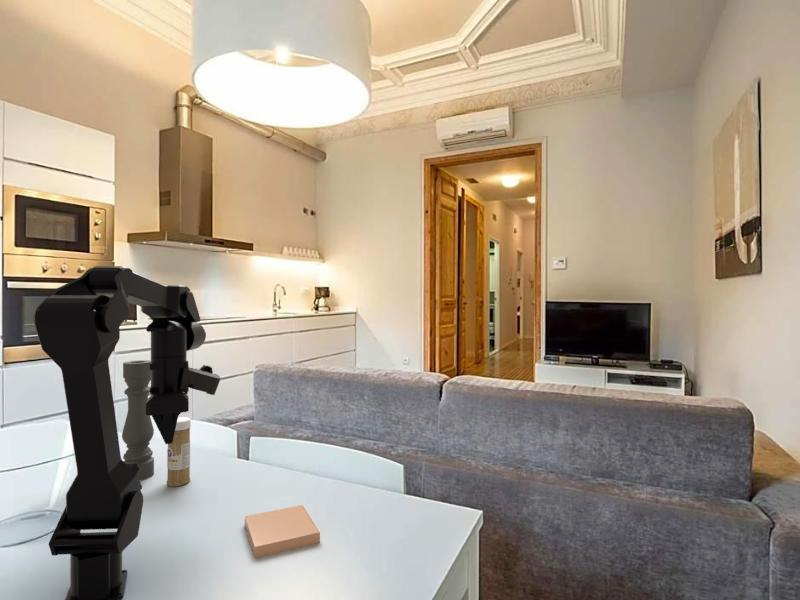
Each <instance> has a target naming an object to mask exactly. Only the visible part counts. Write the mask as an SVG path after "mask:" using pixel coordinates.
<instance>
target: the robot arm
mask: <svg viewBox="0 0 800 600" xmlns="http://www.w3.org/2000/svg"><path fill="white" fill-rule="evenodd" d="M129 303H130V304H132V305H136V306H139V307H140V311H141V312H142V314H145V315H146V316H147V317H149V319H151V321H152V322H151V323H149V324H148V325H147V327H146V328H145V330H146V332H147V333H149V332H150V361H151V363H150V370H151V380H150V386H149V387H150V393H149V395H150V396H148V399H147V402H146V415H149V416H150V417H152V419H153V421H154V424H155V426H156V427H157V429H158V431H159V433H160V435H161V437H162V440H163V442H164V444H165V445H168V444H172V443H173V438H174V433H175V429H176V424H177V419H178V417H180V416H179V415H181V414H183V413H187V412H189V410H190V409H189V407H190V406H189V405H190V403H189V395H188V392H189V390H190V389H192V390H195V391H200V392H204V393H206V394H207V395H211V396H215V394H216V391H217V389H218V386H219V384H220V382H221V376H220V375H219V374H217V373H214V372H213V367H212V366H210V365H206V364H203V365H202V366H201V367H200V368H199V369H198V368H193V367H189V366H190V365H189V364H190V363H189V360H187V357H188V356H187V353H188V352H189V351H193V350H196V349H198V348H200V347H201V346H203V344H204V343H205V341H206V338H207V333H206V331H205V330H206V329H205V328H204V327H203V325H201V324H200V322H201V316H200V314H199V310H198V307H197V303H196V300H195V297H194V294H193V292H192V291H191V289H190V288H189V287H188V286H187V285H184V284H183V285H180V284H162V283H160V282H158V281H155V280H152V279H150V278H148V277H146V276H143V275H141V274H139V273H136V272H135V271H133V270H132V269H131V268H129V267H126V266H123V265H113V266H112V265H103V266H102V265H94V266H93V267H89V268H88V269H87V270H85V272H84V273H83V274H82V275H81V276H80V277H78V278H76V279H74V280H72V281H70V282H67V283H65V284H63V285H62V286H59V287H57V288H56V289H54V290H53V291H52V292H51V293H50V294H49V295H48V296H47V297H45V299H44V300H43V301H41V303H40V304H39V305H38V306H37V308H36V309H35V311H34V315H33V323H34V327H35V331H36V334H37V338H38V340H39V341H38V342H39V344H40V347H41V349H42V351H43V352H44V353H45V354H46V355H47V356H48V357H49V358H50V359H51V360H52V361H53V362H54V363H55V364H56V366H58V367H59V368H60V370H61V374H62V376H61V377H62V381H63V388H64V393H65V395H64V396H65V401H66V407H67V413H68V414H67V415H68V419H69V420H68V421H69V427H70V432H71V433H70V434H71V440H72V445H73V446H72V447H73V452H74V458H75V464H76V476H75V478H74V479H73V481H72V483H71V485H70V487H69V489H68V490H67V492H66V494H65V506H64V507H65V508H64V510H63V512H62V514H61V516H60V519H59V521H58V523H57V525H56V526H55V529H54V530H53V533H52V535H51V537H50V540H49V541H48V546H49V550H50V553H51V556H53V557H54V556H58V555H70V559H69V561H70V563H69V564H70V565H69V567H70V568H69V569H70V571H69V572H70V574H69V576H70V580H69V581H70V586H69V588H68V591H67V594H66V597H65V599H64V600H121V599H123V598H124V595H125V589H126V584H127V578H128V569H123V551H125V550H126V548H127V547H129V546H130V545H131V543H132V542H133V541H134V540H136V538H138V536H139V533H140V532H139V531H140V525H141V519H142V518H141V517H142V514H143V513H142V512H143V505H144V494H143V492H142V491H141V490H142V489H143V486H142V483H141V480H140V476H139V467H138V465H137V464H136V463H124V462H123V461H124V460H123V458H122V457H121V448H120V440H119V433H118V427H117V426H118V424H117V419H116V411H115V410H116V409H115V404H114V403H115V402H114V396H113V395H114V394H113V388H112V381H111V375H110V374H111V373H110V366H109V359H110V357H111V355H112V353H113V351H114V349H115V348H116V346H117V344H118V342H119V341H120V335H121V334H120V327H121V325H122V324H123V322H124V321H125V319H126V318H127V317H128V315H129V313H130V312H131V307H130V304H129ZM84 530H86V531H88V530H89V531H90V530H91V531H92V530H94V531H95V530H116V531H102V532H101V531H98V532H96V531H95V532H93V531H92V532H82V531H84Z"/></svg>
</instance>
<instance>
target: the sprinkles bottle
mask: <svg viewBox="0 0 800 600" xmlns="http://www.w3.org/2000/svg"><path fill="white" fill-rule="evenodd" d="M191 423H192V422H191V418H190V417H188V416H178V419H177V424H176V429H175V433H174V438H173V443H172V444H167V455H166V457H167V458H166V460H167V461H166V468H167V478H166V479H167V480H166V484H167V485H168V486H170V487H179V486H183V485H185V484H188V483H189V482H190V481H191V476H190V474H191V473H190V472H191V426H192V424H191Z"/></svg>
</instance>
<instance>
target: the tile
mask: <svg viewBox="0 0 800 600" xmlns="http://www.w3.org/2000/svg"><path fill="white" fill-rule="evenodd" d="M244 527H245V531H246V533H247V537H248V540H249V545H250V547H251V550H252V552H253V556H254V558H258V557H263V556H269V555H272V554H276V553H281V552H284V551H288V550H293V549H297V548H302V547H305V546H310V545H314V544H318V543H321V532H320V530H319V528H318V527H317V526H316V524H315V522H314V521H313V519H312V518H311V516H310V514H309V512H308V511H307V509H306V508H305V506H304V505H303V504H300V505H295V506H291V507H285V508H280V509H276V510H269V511H265V512H261V513H260V512H259V513H255V514H250V515H245V516H244Z"/></svg>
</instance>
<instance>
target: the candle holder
mask: <svg viewBox="0 0 800 600" xmlns="http://www.w3.org/2000/svg"><path fill="white" fill-rule="evenodd" d="M150 363H151V359H150V360H148V359H147V360H145V359H143V360H129V361H124V362H122V378H124V383H126V386H127V388H125V390H124V391H123V393H124V395H126V397H127V414H126V418H125V421H124V425H123V428H122V432H121V439H122V441H123V442H124V444H126V447H125V448H127V449H126V451H125V453H124V454H123V456H122V461H123V462H124V463H136V464H137V465H138V467H139V476H140V481H144V480H147V479H150V478H151V477H153V476H154V475H155V457H153V453H154V451H153V450H152V448H150V446H149V445H150V442H151V441H152V439H153V436H154V434H155V429H154V425H153V421H152V418H151V417H152V416H151V415H150V416H149V415H146V402H147V399H148V398H149V395H150V387H151V386H149V384H150V383H151V370H150Z"/></svg>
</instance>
